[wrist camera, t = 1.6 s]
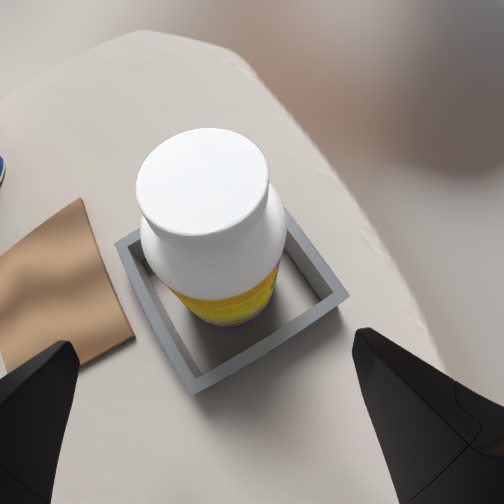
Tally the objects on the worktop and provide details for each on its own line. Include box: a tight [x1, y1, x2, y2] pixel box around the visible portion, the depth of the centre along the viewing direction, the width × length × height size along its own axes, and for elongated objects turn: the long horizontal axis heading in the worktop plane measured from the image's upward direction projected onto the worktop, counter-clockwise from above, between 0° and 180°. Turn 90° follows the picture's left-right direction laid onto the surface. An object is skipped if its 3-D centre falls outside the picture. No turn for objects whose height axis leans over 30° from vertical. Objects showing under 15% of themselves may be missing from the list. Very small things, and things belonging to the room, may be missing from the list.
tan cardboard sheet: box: [0, 198, 135, 374], centre depth 20 cm, size 14×14×1 cm
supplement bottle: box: [136, 128, 287, 327], centre depth 16 cm, size 7×7×13 cm
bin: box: [114, 207, 350, 396], centre depth 20 cm, size 12×12×3 cm
